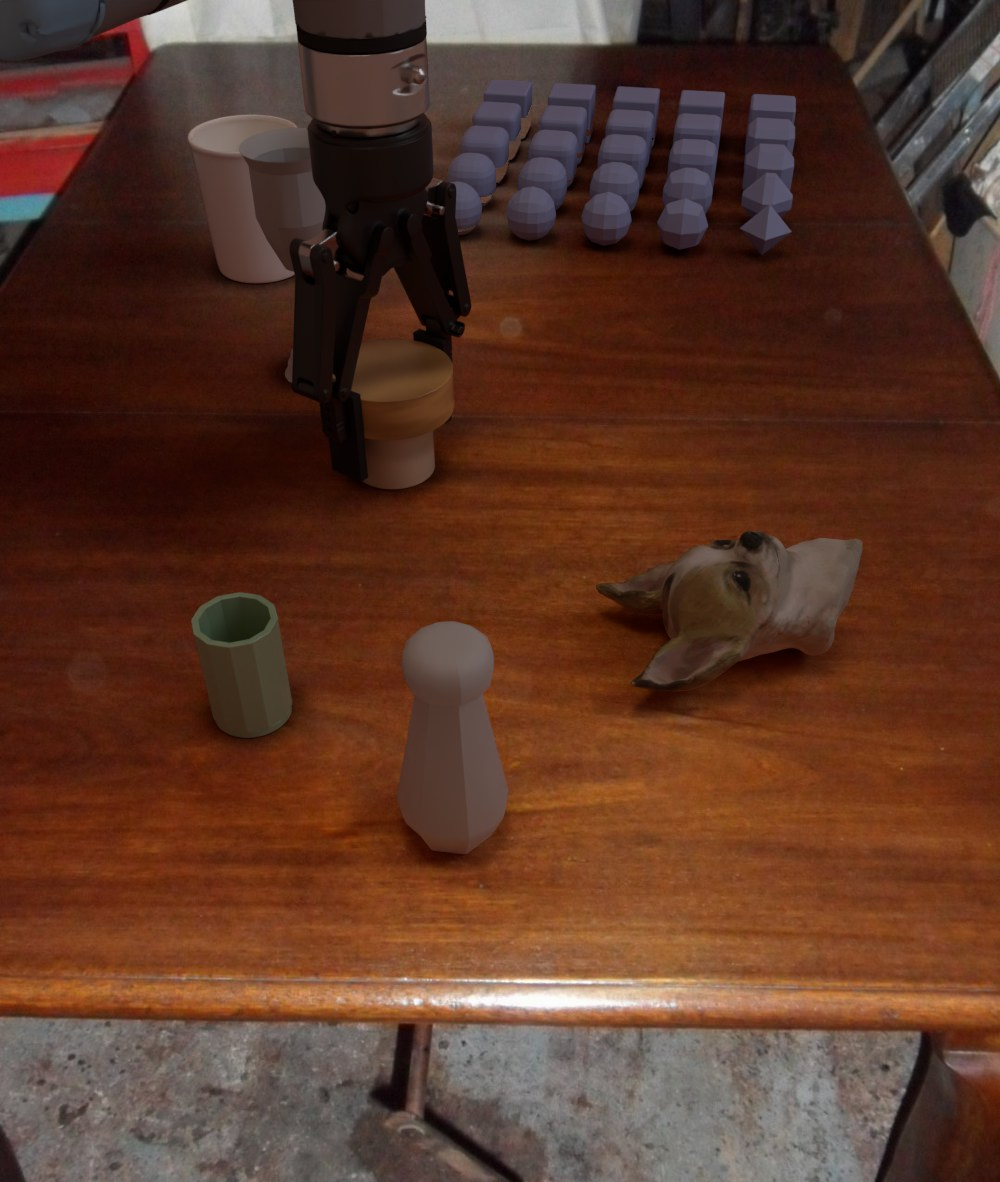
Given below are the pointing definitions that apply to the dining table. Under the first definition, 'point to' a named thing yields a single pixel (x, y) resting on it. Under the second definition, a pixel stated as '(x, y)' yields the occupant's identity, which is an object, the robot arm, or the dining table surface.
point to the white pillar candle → (399, 461)
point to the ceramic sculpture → (739, 604)
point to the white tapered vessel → (234, 197)
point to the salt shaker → (450, 740)
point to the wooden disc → (403, 388)
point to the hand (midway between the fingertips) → (393, 443)
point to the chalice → (284, 191)
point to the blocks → (624, 162)
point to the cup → (243, 664)
